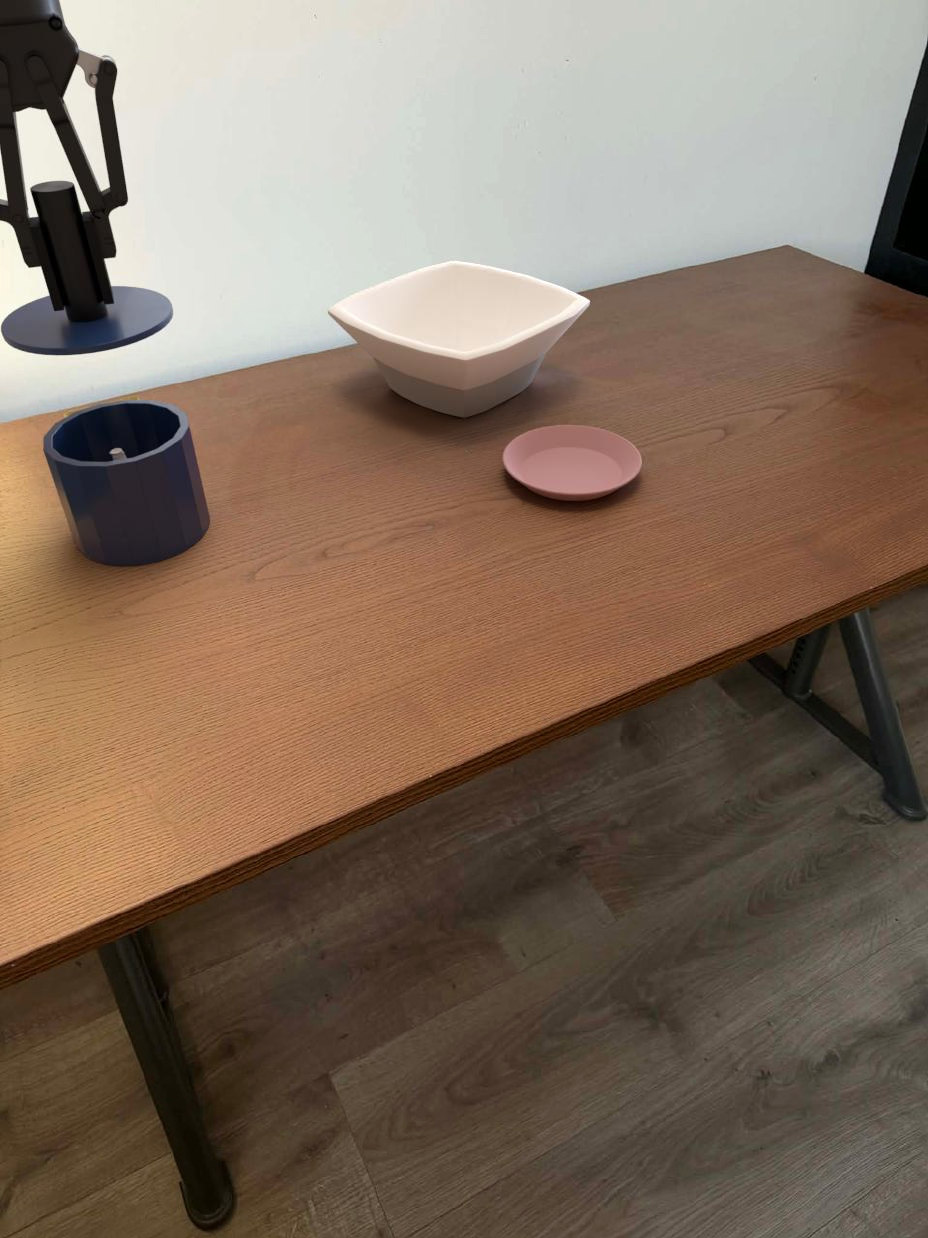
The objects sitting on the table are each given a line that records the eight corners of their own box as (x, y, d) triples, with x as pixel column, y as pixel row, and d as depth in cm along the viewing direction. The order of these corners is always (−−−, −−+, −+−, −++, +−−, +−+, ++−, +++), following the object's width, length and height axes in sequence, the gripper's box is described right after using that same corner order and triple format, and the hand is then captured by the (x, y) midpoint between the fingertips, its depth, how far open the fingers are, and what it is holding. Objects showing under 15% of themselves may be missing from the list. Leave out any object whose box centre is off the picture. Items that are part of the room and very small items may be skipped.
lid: (1, 374, 71) (-52, 221, 64) (8, 311, 81) (-38, 173, 74) (182, 347, 75) (150, 199, 68) (167, 290, 85) (138, 156, 78)
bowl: (317, 392, 113) (307, 309, 107) (457, 330, 128) (455, 253, 121) (465, 456, 101) (464, 366, 94) (602, 379, 115) (608, 296, 108)
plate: (612, 524, 90) (614, 506, 89) (479, 491, 95) (479, 474, 94) (657, 457, 100) (660, 440, 99) (534, 430, 105) (535, 414, 104)
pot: (77, 577, 85) (42, 477, 78) (75, 507, 94) (43, 412, 87) (217, 550, 88) (195, 451, 81) (201, 485, 97) (180, 390, 90)
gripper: (111, -58, 67) (180, 274, 81) (-140, -48, 63) (-20, 299, 77) (116, -52, 61) (189, 303, 76) (-159, -40, 57) (-25, 332, 72)
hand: (84, 300), depth 77 cm, fingers closed on lid, 3 cm apart
